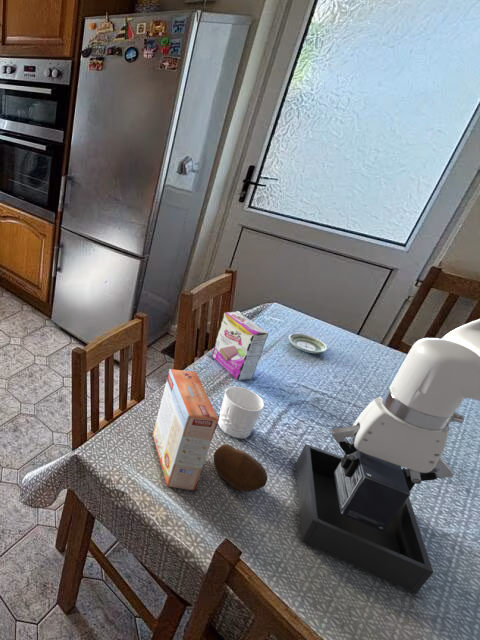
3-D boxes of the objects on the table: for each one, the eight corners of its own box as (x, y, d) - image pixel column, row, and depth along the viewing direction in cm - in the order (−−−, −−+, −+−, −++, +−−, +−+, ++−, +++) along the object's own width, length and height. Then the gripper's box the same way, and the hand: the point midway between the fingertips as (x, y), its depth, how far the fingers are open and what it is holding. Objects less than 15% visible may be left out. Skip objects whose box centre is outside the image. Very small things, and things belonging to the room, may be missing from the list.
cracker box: (196, 492, 87) (221, 419, 78) (165, 487, 88) (186, 415, 79) (178, 438, 99) (197, 370, 90) (151, 434, 100) (168, 367, 91)
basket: (388, 501, 84) (403, 479, 81) (414, 595, 69) (433, 572, 67) (295, 465, 92) (305, 443, 89) (300, 542, 77) (312, 519, 74)
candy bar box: (209, 357, 126) (223, 311, 119) (224, 355, 126) (238, 310, 119) (237, 382, 116) (253, 334, 109) (252, 380, 116) (270, 332, 109)
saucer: (319, 343, 131) (322, 336, 130) (329, 361, 123) (332, 355, 122) (283, 336, 135) (285, 329, 134) (290, 353, 127) (292, 347, 126)
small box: (387, 534, 73) (414, 496, 68) (339, 514, 76) (362, 476, 71) (375, 487, 81) (398, 450, 76) (332, 471, 84) (352, 434, 79)
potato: (215, 456, 94) (224, 431, 91) (265, 485, 88) (276, 459, 84) (203, 476, 90) (212, 451, 86) (254, 508, 83) (266, 482, 80)
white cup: (258, 444, 97) (270, 412, 93) (221, 439, 98) (232, 408, 94) (243, 418, 104) (255, 388, 100) (210, 414, 105) (220, 384, 101)
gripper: (482, 415, 66) (430, 488, 74) (344, 375, 75) (310, 444, 83) (502, 448, 61) (444, 523, 68) (350, 401, 69) (313, 472, 77)
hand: (371, 479), depth 76 cm, fingers closed on small box, 6 cm apart
